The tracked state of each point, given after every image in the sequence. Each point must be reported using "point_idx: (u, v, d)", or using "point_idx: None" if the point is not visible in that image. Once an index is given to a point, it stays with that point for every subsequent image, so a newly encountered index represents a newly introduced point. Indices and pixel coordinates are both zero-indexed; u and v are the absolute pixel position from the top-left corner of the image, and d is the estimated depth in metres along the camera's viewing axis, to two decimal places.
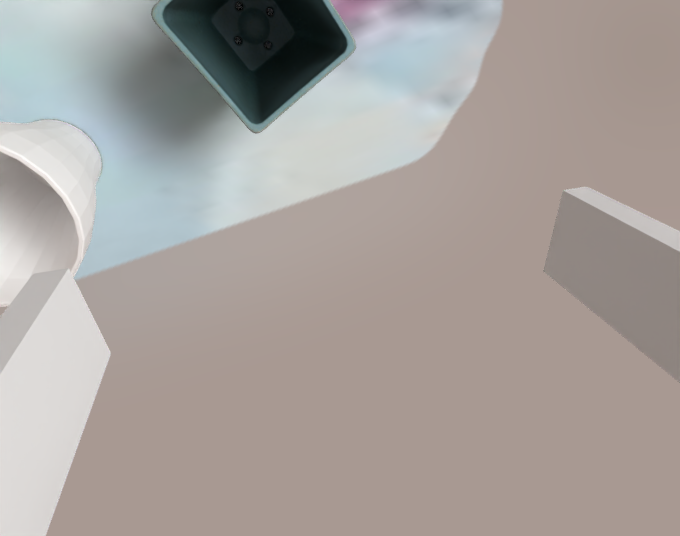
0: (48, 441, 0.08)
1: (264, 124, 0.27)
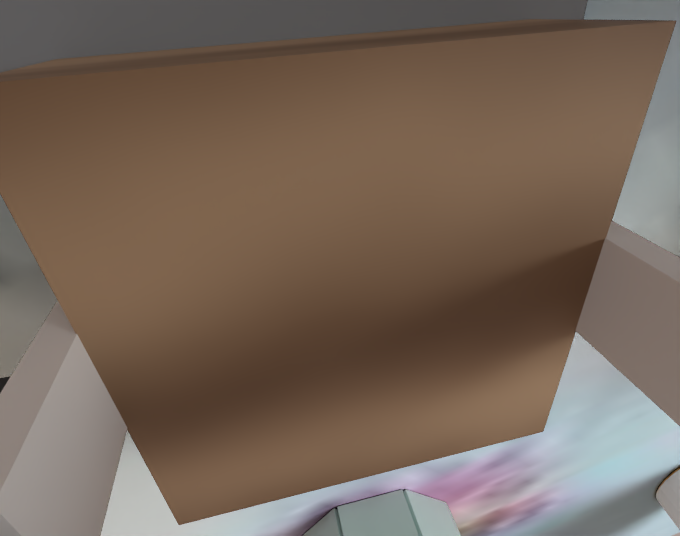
0: (111, 399, 0.08)
1: None
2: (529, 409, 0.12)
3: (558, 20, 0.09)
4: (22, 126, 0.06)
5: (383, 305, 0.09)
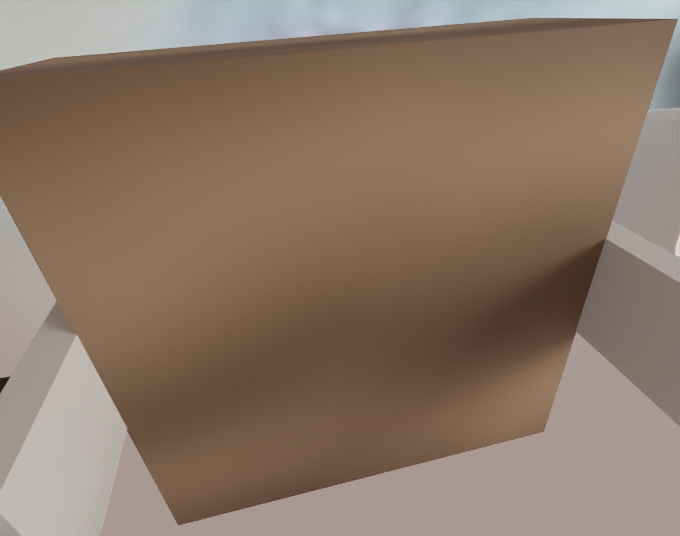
0: (111, 399, 0.08)
1: None
2: (529, 409, 0.12)
3: (559, 19, 0.09)
4: (20, 124, 0.06)
5: (383, 304, 0.09)
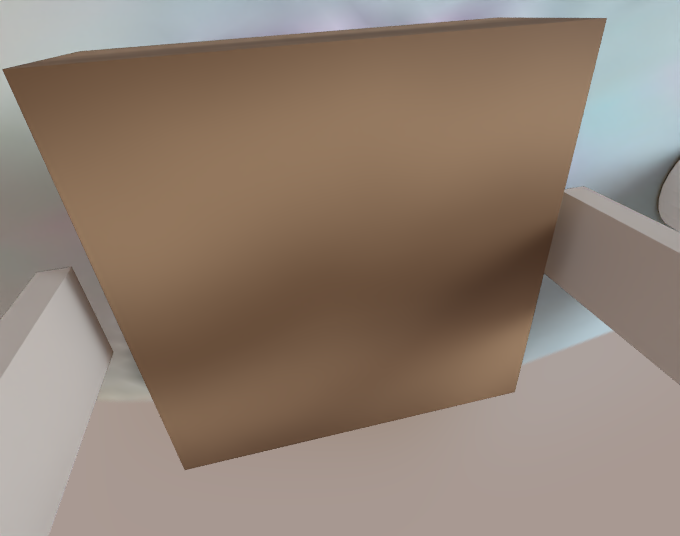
0: (52, 438, 0.08)
1: None
2: (500, 369, 0.13)
3: (518, 18, 0.10)
4: (63, 102, 0.07)
5: (364, 265, 0.10)
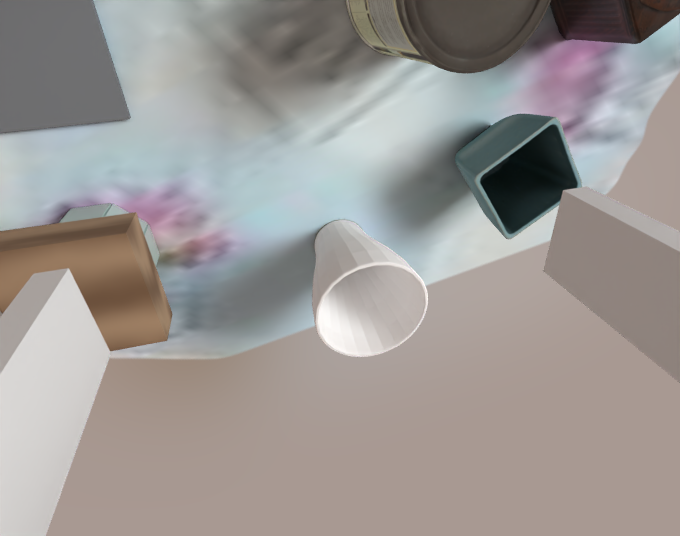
0: (48, 440, 0.08)
1: (515, 234, 0.41)
2: (154, 331, 0.36)
3: (129, 219, 0.33)
4: None
5: None
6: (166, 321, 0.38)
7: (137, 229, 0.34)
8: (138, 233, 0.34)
